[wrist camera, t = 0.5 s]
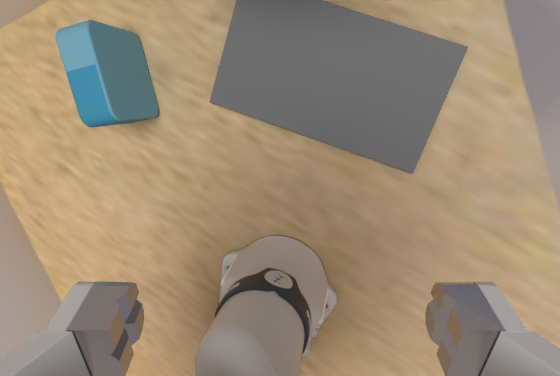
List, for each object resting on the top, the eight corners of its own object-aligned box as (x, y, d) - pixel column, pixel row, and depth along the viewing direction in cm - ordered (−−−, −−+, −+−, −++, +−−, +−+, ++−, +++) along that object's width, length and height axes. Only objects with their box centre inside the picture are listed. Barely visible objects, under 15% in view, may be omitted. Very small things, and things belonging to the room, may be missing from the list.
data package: (112, 41, 56) (50, 26, 44) (139, 33, 55) (83, 16, 43) (135, 122, 58) (82, 128, 47) (161, 116, 57) (114, 121, 46)
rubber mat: (411, 172, 53) (412, 173, 52) (212, 102, 55) (209, 102, 54) (465, 47, 48) (468, 46, 47) (245, -23, 51) (243, -25, 50)
